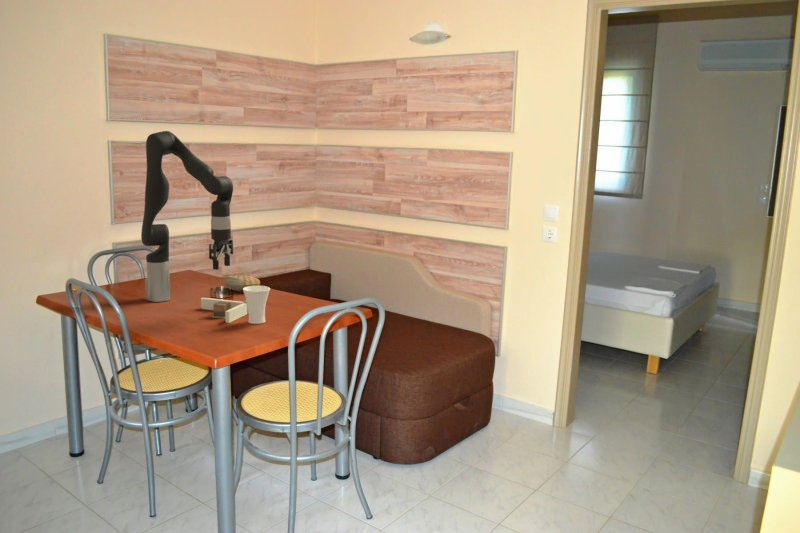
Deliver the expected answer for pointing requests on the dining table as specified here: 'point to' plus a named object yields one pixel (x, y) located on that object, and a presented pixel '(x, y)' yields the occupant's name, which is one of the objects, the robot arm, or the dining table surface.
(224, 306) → the block
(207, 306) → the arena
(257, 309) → the cup
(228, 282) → the nautilus
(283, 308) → the dining table surface
